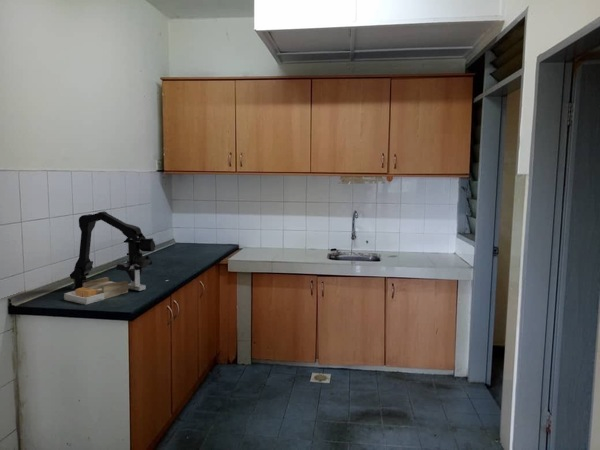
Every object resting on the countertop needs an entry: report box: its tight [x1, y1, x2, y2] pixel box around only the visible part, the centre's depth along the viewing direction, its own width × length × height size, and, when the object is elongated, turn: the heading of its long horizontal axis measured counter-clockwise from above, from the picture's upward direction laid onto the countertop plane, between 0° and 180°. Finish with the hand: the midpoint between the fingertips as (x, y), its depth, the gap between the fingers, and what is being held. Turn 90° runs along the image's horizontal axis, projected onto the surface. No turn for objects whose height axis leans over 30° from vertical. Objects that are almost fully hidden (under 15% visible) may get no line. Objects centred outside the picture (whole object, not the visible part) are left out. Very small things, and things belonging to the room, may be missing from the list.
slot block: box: [83, 276, 129, 300], centre depth 218 cm, size 16×14×6 cm
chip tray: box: [63, 290, 105, 306], centre depth 208 cm, size 16×10×3 cm, turn 62°
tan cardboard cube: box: [83, 289, 96, 298], centre depth 208 cm, size 4×4×4 cm
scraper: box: [128, 268, 147, 292], centre depth 225 cm, size 10×4×10 cm, turn 62°
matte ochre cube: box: [75, 287, 89, 297], centre depth 210 cm, size 4×4×4 cm
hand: (135, 280), depth 225 cm, fingers closed on scraper, 3 cm apart
